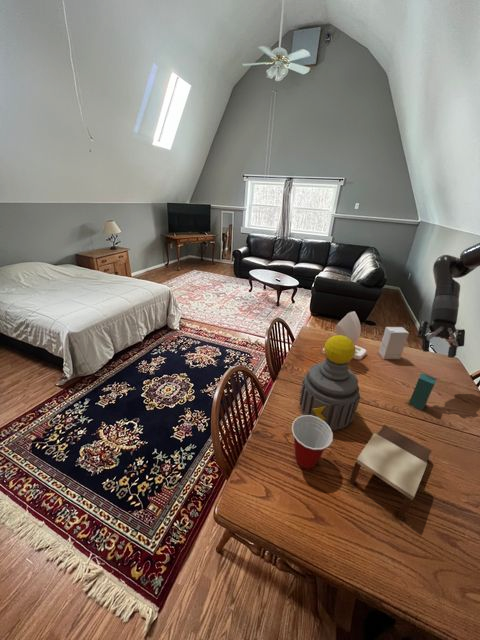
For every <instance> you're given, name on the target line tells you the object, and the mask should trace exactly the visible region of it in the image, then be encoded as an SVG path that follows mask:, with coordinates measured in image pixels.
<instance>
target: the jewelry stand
mask: <svg viewBox="0 0 480 640" xmlns="http://www.w3.org/2000/svg"><path fill="white" fill-rule="evenodd" d="M332 333H334V334H336V335H343V336H346V337H348V338H349V339H351V341H352V342H353V344H354V346H355V354H354V357H353V358H352V359H354V360H358V361H359V360H362V359H363V358H364V357H365V356H366V354H367V350H366V349H365V348H364V347H361V346H359V345H356V344H357V343H358V341H359V339H360V337H361V333H362V326H361V322H360V319H359V317H358V315H357V313H356V311H349V312H348V313H346V315H345V316H344V317H343V318H341V320H340V321H338V322H337V324H336V325H335V328H334V330H333V332H332ZM321 350H322V351H321V354H323V355H325V351H324V348H322V349H321Z"/></svg>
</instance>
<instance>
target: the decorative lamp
mask: <svg viewBox="0 0 480 640" xmlns="http://www.w3.org/2000/svg"><path fill="white" fill-rule="evenodd" d="M323 349H324V351H325V354H324V355H325V359H324V360H323V362H317V363H315V364H313V365H312V366H311V367H310V368H309V370H308V371H307V372H306V374H305V376H304V377H303V379H301V382H302V383H301V388H300V390H299V393H300V394H299V406H300V412H301V413H302V415H312V416H315V417H318V418H320V419H322V420H323V421H325V422H326V423H327V424H328V426H329V427H330V428H331V431H336V430H342V429H344V428H346V427H348V426H349V424H352V422H353V421H354V419H355V416H356V413H357V410H358V407H359V404H360V400H361V394H360V387H359V379H358V377H357V375H356V374H355V373H354V372H353V371H352V370H350V369H349V362H351V360H353V359H354V358H353V357H354V354H355V346H354V344H353V342H352V341H351V339H349V338H348V337H346V336H343V335H337V334H336V335H335V334H334V335H332V336H331V337H329V338H328V339H327V340H326V341H325V342H324V347H323Z"/></svg>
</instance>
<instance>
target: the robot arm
mask: <svg viewBox="0 0 480 640" xmlns="http://www.w3.org/2000/svg"><path fill="white" fill-rule="evenodd" d="M478 267H480V242H478V243H476V244H474V245H472V246H469V247H467V248H466V249H464V250H463V251H462V252H460V256H459V257H456V256H454V255H449V254H442V255H440V256H439V257H437V259H436V260H435V262H434V264H433V267H432V273H433V278H434V284H435V291H434V298H433V301H432V306H431V311H430V318H429V322H428V321H427V320H423V321H421V322H420V323H419V327H418V331H417V339H421V340H422V343H421V350H422V352H424V353H428V352H429V351H430V345H431V341H430V340H432V339H433V338H434V337H435V338H440V339H442V340H443V339H444V340H445V342H447V344H448V345H449V347H448V352H447V358H450V359H453V358H455V357H456V356H457V352H458V351H457V350H458V347H465V339H466V338H465V337H466V331H465V329H464V328H462V329H459V328H456V325H457V323H458V316H459V307H460V295H461V294H460V293H461V284H460V282H458V281H457V280H455V279H460V278H464V277H465V276H467V275H469V274H470V273H471V272H473V271H474V270H475V269H477V268H478ZM427 329H429V331H428V332H427Z"/></svg>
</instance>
